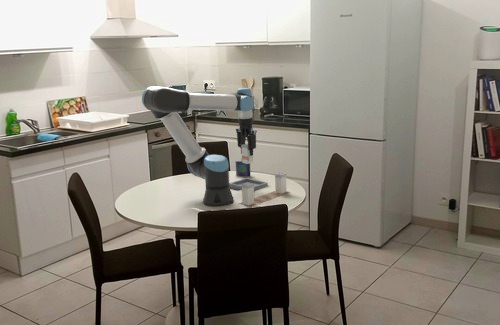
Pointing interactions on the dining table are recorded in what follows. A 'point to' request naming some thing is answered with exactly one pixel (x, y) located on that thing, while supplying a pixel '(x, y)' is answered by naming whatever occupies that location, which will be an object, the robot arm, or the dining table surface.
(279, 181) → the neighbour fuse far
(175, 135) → the robot arm
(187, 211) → the dining table surface
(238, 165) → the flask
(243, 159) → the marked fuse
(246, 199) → the block
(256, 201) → the fuse board
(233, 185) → the tray
